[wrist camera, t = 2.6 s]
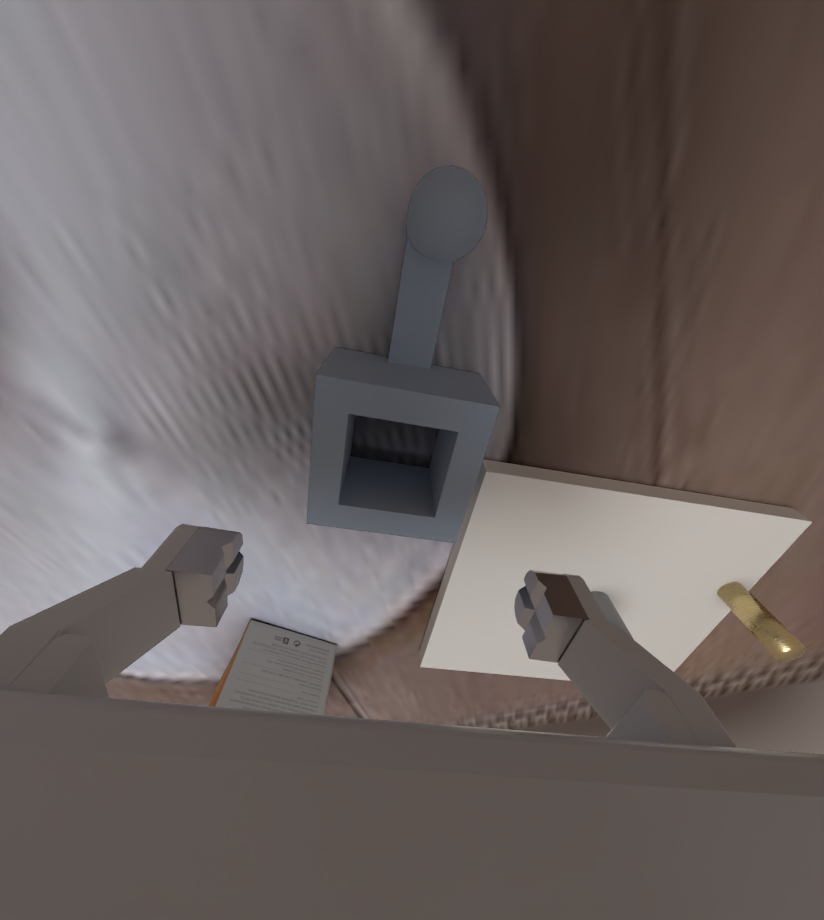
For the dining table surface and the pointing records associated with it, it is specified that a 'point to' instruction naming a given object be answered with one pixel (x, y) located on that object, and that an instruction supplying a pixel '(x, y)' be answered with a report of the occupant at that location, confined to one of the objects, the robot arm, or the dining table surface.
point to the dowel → (761, 623)
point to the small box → (277, 672)
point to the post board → (596, 562)
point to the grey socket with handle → (408, 388)
